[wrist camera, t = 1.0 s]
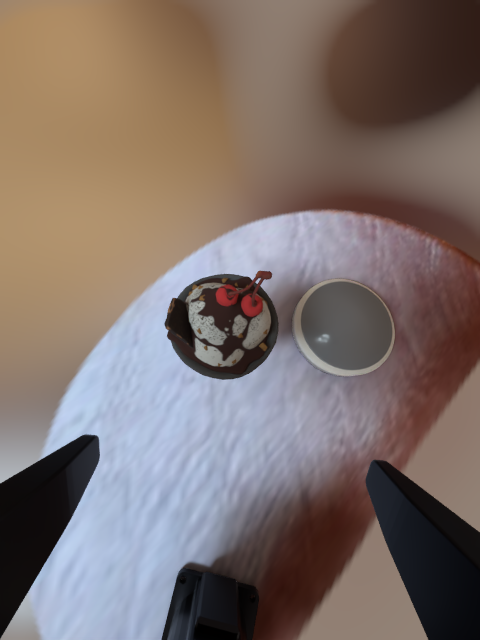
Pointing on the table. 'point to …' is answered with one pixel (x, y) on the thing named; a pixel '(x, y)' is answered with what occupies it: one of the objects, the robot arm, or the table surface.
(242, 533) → the table surface
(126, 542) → the table surface
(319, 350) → the round mirror
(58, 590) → the table surface
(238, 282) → the sundae
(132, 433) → the table surface
